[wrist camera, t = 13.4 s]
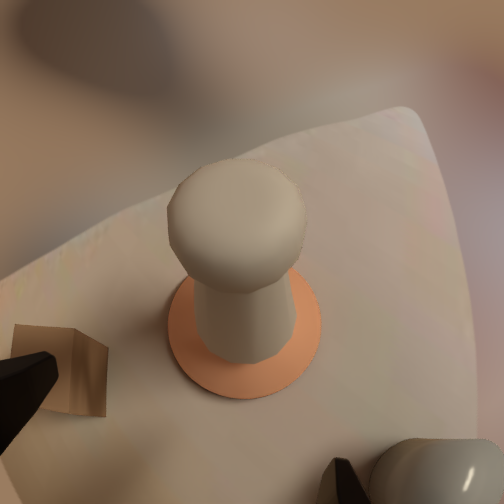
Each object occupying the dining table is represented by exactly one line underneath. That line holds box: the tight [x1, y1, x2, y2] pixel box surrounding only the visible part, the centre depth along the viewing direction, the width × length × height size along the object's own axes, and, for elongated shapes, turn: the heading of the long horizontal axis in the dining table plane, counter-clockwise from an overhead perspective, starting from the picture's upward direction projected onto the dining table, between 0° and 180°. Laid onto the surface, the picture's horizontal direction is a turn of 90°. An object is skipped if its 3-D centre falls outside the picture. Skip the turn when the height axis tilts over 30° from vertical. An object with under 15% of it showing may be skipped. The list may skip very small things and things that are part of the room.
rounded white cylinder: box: [369, 438, 504, 504], centre depth 12 cm, size 6×6×7 cm
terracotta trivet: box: [168, 267, 321, 399], centre depth 21 cm, size 10×10×1 cm
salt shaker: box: [167, 159, 307, 364], centre depth 15 cm, size 6×6×13 cm
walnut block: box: [11, 324, 108, 417], centre depth 17 cm, size 5×5×5 cm
